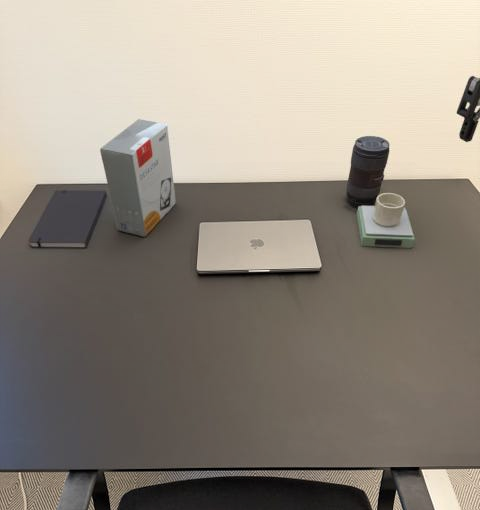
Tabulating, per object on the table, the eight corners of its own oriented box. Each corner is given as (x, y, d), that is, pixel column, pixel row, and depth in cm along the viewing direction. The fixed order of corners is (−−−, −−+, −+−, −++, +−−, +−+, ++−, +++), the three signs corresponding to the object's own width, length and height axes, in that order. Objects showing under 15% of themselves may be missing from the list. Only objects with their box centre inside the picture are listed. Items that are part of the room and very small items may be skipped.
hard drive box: (146, 238, 106) (130, 155, 91) (116, 231, 108) (96, 148, 93) (177, 202, 116) (167, 122, 101) (150, 196, 118) (136, 117, 103)
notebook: (86, 248, 104) (107, 195, 118) (84, 242, 102) (105, 190, 117) (29, 247, 104) (57, 195, 118) (27, 242, 103) (55, 190, 117)
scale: (403, 216, 111) (406, 205, 109) (412, 248, 102) (416, 237, 100) (356, 214, 112) (358, 203, 109) (361, 246, 103) (364, 235, 101)
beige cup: (397, 212, 107) (402, 193, 103) (401, 228, 103) (407, 208, 99) (370, 211, 107) (375, 192, 103) (373, 227, 103) (378, 207, 99)
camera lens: (373, 192, 118) (386, 134, 107) (380, 210, 113) (395, 151, 102) (341, 192, 118) (351, 134, 107) (347, 210, 113) (358, 151, 102)
